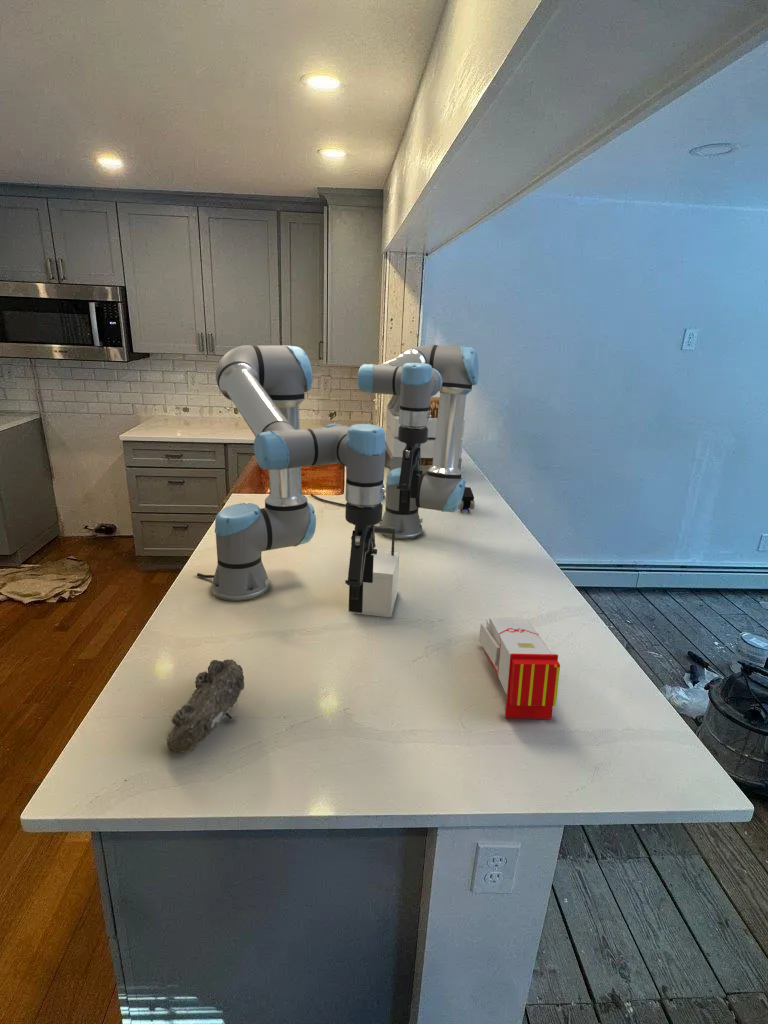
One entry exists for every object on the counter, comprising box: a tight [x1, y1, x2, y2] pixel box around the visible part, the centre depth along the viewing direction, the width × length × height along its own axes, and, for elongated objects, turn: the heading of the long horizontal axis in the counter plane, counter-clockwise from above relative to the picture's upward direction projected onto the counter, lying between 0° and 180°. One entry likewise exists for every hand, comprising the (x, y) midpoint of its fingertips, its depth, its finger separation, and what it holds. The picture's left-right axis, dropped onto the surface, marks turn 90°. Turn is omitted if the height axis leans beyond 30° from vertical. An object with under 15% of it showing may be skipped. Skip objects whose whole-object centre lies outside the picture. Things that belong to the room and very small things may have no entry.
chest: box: [353, 559, 400, 618], centre depth 151 cm, size 13×10×11 cm
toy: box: [478, 616, 561, 720], centre depth 122 cm, size 12×13×30 cm
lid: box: [372, 525, 401, 579], centre depth 148 cm, size 14×10×9 cm
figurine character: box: [458, 486, 476, 514], centre depth 227 cm, size 7×8×15 cm
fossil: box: [166, 658, 245, 754], centre depth 106 cm, size 22×10×15 cm
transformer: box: [384, 395, 465, 472], centre depth 268 cm, size 34×33×41 cm
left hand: (361, 596), depth 122 cm, fingers open, 13 cm apart
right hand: (408, 505), depth 151 cm, fingers open, 13 cm apart
